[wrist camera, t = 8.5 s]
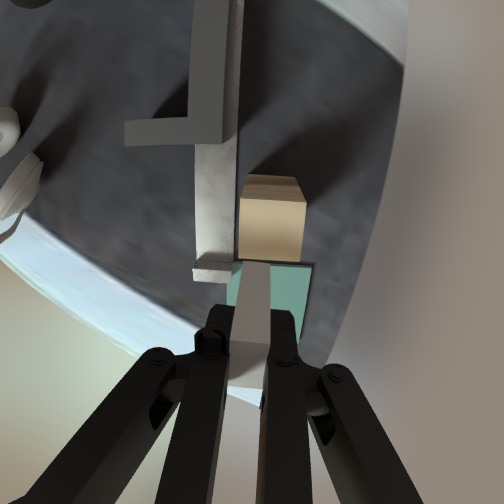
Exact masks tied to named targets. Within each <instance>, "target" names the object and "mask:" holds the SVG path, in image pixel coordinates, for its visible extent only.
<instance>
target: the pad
mask: <svg viewBox="0 0 504 504" xmlns="http://www.w3.org/2000/svg"><path fill="white" fill-rule="evenodd" d="M227 263H228V262H227ZM229 263H230V262H229ZM231 263H232V262H231ZM232 264H233V277H232V282H231V284H230V283H227V305H231V306H236V300H237V294H238V289H239V283H240V277H241V271H242V266H243V262H238V261H233V263H232ZM311 269H312V268H311V266H304V265H287V264H270V309H279V310H289V311H290V312H291V313H292V315H293V316H294V319H295V329H296V338H297V343H299V338H300V333H301V328H302V322H303V317H304V311H305V305H306V300H307V294H308V288H309V282H310V275H311Z"/></svg>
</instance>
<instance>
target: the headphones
mask: <svg viewBox="0 0 504 504" xmlns="http://www.w3.org/2000/svg"><path fill="white" fill-rule="evenodd" d="M20 134H21V132H20V124H19V120H18V113H17V112H15V111H14V110H13V109H12V108H11V107H2V106H0V157H1V156H3V155H4V154H6V153H7V152H8V151H9V150H10V149H11V148H12V147H13V146H14V145H15V144H16V142H17V140H18V138H19V136H20ZM43 164H44V162H43V161H41V162H40V159H39V158H38V157H37V156H36V155H35V154H34V153H32V152H31V153H29V154H28V155H27V156H26V157H25V158H24V159H23V161H22V162H21V163H20V164H19V165H18V167H17V168H16V169H15V170H14V172H13V173H12V174H11V176H10V177H9V178H8V180H7V181H6V182H5V184H4V185H3V186H2V188H1V189H0V220H1V221H2V220H4V219H6V218H8V217H9V216H11V215H13V214H15V213H20V214H19V216H18V217H17V219H16V221H15V222H14V224H13V225H12V226H11V227H10V228H9V229H8V230H7V231H6V232H4V233H2V234H0V244H1V243H2V242H4V241H5V240H6V239H8V238H9V237H10V236H11V235H12V234H13V233H14V232H15V230H16V228H17V226H18V224H19V222H20V220H21V217H22V215H23V213H24V211H25V209H26V208H27V207H28V205H29V204H30V203H31V201H32V200H33V199H34V197H35V196H36V194H37V193H38V191H39V190H40V187H39V185H40V183H39V179H40V175H41V171H42V168H43Z"/></svg>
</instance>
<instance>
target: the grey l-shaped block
mask: <svg viewBox="0 0 504 504" xmlns="http://www.w3.org/2000/svg"><path fill="white" fill-rule="evenodd" d="M236 12H237V0H195V2H194V12H193V23H192V36H191V50H190V66H189V86H188V117H176V118H156V119H142V120H130V121H124V134H125V146H143V145H172V144H219V145H222V144H223V143H225V142H227V141H228V140H230V126H231V102H232V81H233V61H234V44H235V27H236Z"/></svg>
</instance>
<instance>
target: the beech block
mask: <svg viewBox="0 0 504 504" xmlns="http://www.w3.org/2000/svg"><path fill="white" fill-rule="evenodd" d="M306 204H307V202H306V200H305V198H304V196H303V194H302V192H301V189H300V187H299V185H298V183H297V181H296V179H295V177H287V176H272V175H256V174H248V176H247V179H246V182H245V185H244V188H243V191H242V194H241V197H240V220H239V253H238V258H244V259H261V260H277V261H294V262H300V255H301V247H302V239H303V231H304V222H305V213H306Z"/></svg>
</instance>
